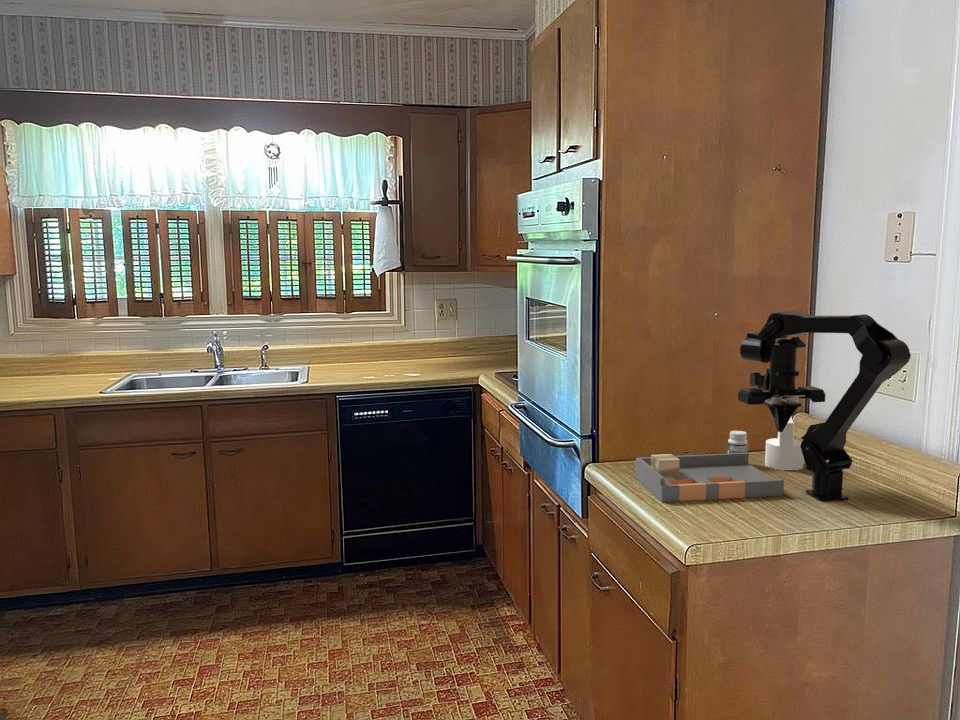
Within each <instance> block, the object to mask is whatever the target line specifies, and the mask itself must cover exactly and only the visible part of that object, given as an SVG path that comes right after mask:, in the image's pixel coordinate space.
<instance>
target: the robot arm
mask: <svg viewBox="0 0 960 720" xmlns="http://www.w3.org/2000/svg"><path fill="white" fill-rule="evenodd" d="M808 333H812V334H815V333H816V334H817V333H818V334H820V333H821V334H848V335H850V336H851V338H852V341H853V343H854V345H855V349H856V350H857V351H858V352H859V353H860V354H861V358H860V360H859V369H858V373H857V375H856V377H855V378H854V380H853V381H852V383H851V385H850V386H849V387H848V388H847V390H846V392H845V393H844V394H843V396H842V397H841V399H840V400H839V401H838V403H837V404H836V406H835V407H834V408H833V410H832V412H831V413H830V414H829V416H828V417H827V419H826V420H825V421H824V422H820V423H815V424H810V426H809V427H808V428H807V430H806V432H805V434H804V435H803V436H801V437H800V438H801V440H802V441H801V446H800V448H801V450H802V454H803V457H804V464H805V469H806V470H807V471H811V472H812V480H811V481H812V483H811V489H805V493H807V494H808V495H810V496H812V497H813V498H815V499H817V500H818V501H821V502H828V501H845V500H849V497H848V496H847V495H845V494H843V482H844V472H843V470H849V469H851V466H852V464H853V459H852V457H851V456H850V454H848V452H847V451H846V449H845V445H846V443H847V433H848V431H849V429H850V428H851V427H852V425H853V424H854V422H855V421H856V420H857V419H858V417H859V416H860V415H861V413H862V412H863V410H864V409H865V407H866V406H867V405H868V403H869V402H870V401H871V399H872V397H874V396H875V394H876V392H877V390H878V389H879V388H880V387H881V385H882V384H883V383H884V382H885V381H887V380H888V379H890V378H892V377H893V376H895V375H896V374H897V373H898V372H899V371H901V370H902V369H903V368H904V367H905V366H906V365H907V364H908V363H909V361H910V360H911V356H912V355H911V351H910V348H909V346H908V344H907V343H906V342H904V341H902V340H901V339H899V338H897V336H896V335H895V334H894V333H893V332H891V331H889V330H888V329H887V328H885V327H883V326H882V325H881V324H879V323H878V322H877V321H876V320H875V319H874V317H872V316H870V315H869V314H865V313H864V314H853V315H812V314H809V313H806V312H801V311H797V310H786V311H774V312H771V313H770V315H769V316H768V318H767V320H766V323H765V324H764V325H763V327H762V328H761V330H760V332H759V333H758V332H746V338H744V339H743V341H742V342H741V344H740V346H739V354H740V356H741V358H742V359H743V360H745V361H750V362H757V363H762V364H763V363H764V364H767V363H769V367H768V368H766V370H765V375H764V374H763V375H761V372H751V373H750V374H749V385H750V386H751V387H753V388H741V389H740V390H739V391H738V393H737V401H738V402H742V403H744V404H746V405H749V406H751V405H754V406H755V405H765V406H767V408H768V409H769V412H770V413H771V416H772V420H773V422H774V426H775V430H776V432H777V433H778V432H783V430H784V428H785V427H786V425H787V423H788V421H789V419H790V418H791V416H792V417H793V415H794V413H795V412H796V411H797V409H798V408H799V407H802V405H803V404H802V403H800V402H799V401H800V399H809V400H810V401H811V402H812V403H825V402H826V392H825V391H824V389H822V388H819V387H816V386H813V385H811V386H808V385H807V386H798V387H797V388H796V377H799V376H800V371H798V370H797V353H798V349H800V348H801V349H802V348H806V346H807V345H806V343H805V342H804V341H802V340H801V338H800V337H799V336H798V335H804V334H808ZM789 337H791V338H789ZM776 340H777V341H776Z"/></svg>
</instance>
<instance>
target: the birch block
mask: <svg viewBox="0 0 960 720" xmlns="http://www.w3.org/2000/svg"><path fill="white" fill-rule="evenodd" d="M675 456H676V455H674V454H672V453H665V454H664V453H663V454H650V457H651V467H652V468H653V469H654V470H656V471H657V472H658V473H659V474H660V475H662V476H663V477H678V476H679V461H680V460H679V459H678V458H677V457H675Z"/></svg>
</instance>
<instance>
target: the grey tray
mask: <svg viewBox="0 0 960 720" xmlns="http://www.w3.org/2000/svg"><path fill="white" fill-rule="evenodd" d="M674 456H675V457H677V458H678V459H679V460H680V461H679V476H678V477H663V476H662V475H660V474H659V473H658V472H657V471H656V470H654V469H653V468H652V467H651V456H645V457H642V456H641V457H635V479H636V480H637V481H638V482H639V483H641V484H642V485H643V486H644V487H645V488H646V489H647V490H648V491H649V492H651V494H652V495H653V496H655V498H656V499H658V500H659V501H660V502H661V503H666V502H667V503H669V502H671V503H672V502H685V501H686V502H688V501H706V500H707V501H708V500H725V499H741V498H745V499H746V498H761V497H763V498H764V497H781V496H784V492H785V491H784V487H785V480H784V479H782V478H773V477H772V476H770V475H769V474H767V473H765V472H764V471H762V470H760V469H758V468H757V467H755V466H754V465H752V464H750V463H749V457H750V455H749V453H748V452H747V453H728V452H726V453H710V454H708V453H705V454H686V455H674Z"/></svg>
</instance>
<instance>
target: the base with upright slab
mask: <svg viewBox="0 0 960 720" xmlns="http://www.w3.org/2000/svg"><path fill="white" fill-rule="evenodd" d="M794 425H795V424H794V421H793V415H792V416H791V418H790V419H789V421H788V423H787V425H786V427H785V428H784V430H783V432H778V431H777V438H776V437H774V438H768V439H766V440H765V454H764V455H765V460H764V465H765V467H767V466H768V467H767V468H769V467H771V468H770V469H772V468H774V469H773V470H777V469H779V470H778V471H784V470H796V471H800V470H799V469H801V470H803V469H804V463H805V461H804V457H803V454H802V450H801V448H800V446H801V442H802V441H800V440H798V439H794ZM802 468H803V469H802Z"/></svg>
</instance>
